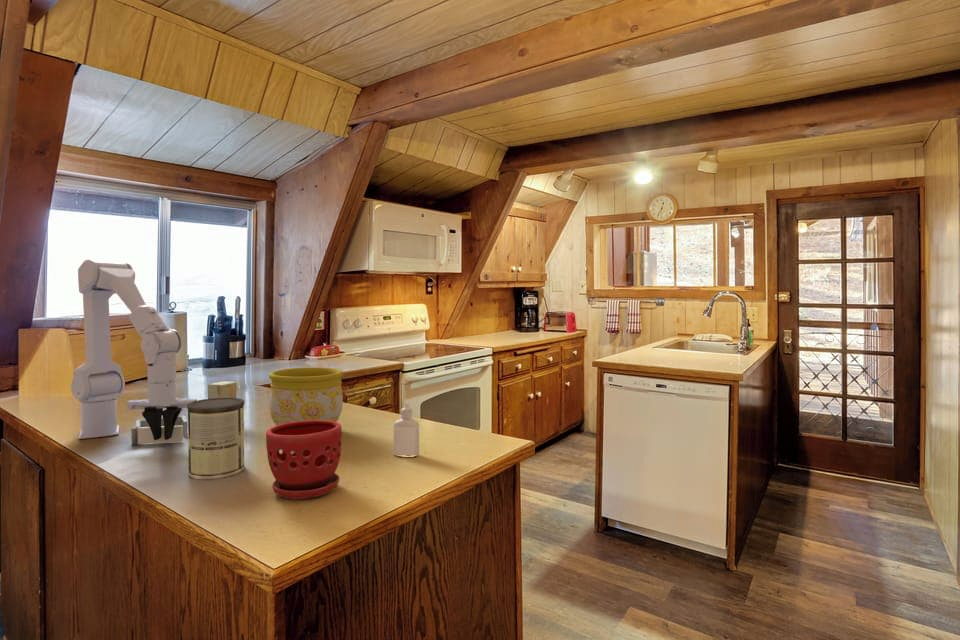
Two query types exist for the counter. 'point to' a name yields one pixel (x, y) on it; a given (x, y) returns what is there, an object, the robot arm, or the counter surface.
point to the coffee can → (216, 437)
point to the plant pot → (304, 457)
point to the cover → (146, 435)
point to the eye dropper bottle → (406, 433)
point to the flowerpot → (305, 394)
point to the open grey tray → (180, 421)
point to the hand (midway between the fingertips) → (163, 438)
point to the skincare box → (222, 390)
